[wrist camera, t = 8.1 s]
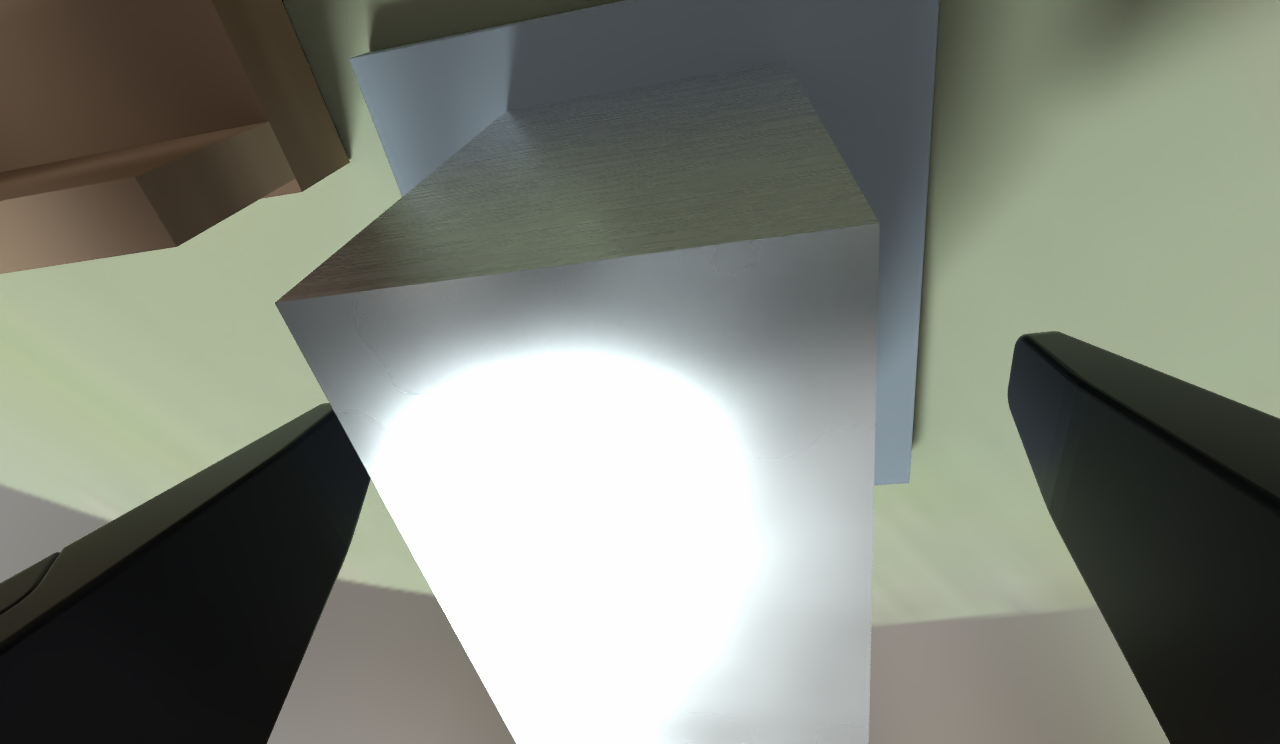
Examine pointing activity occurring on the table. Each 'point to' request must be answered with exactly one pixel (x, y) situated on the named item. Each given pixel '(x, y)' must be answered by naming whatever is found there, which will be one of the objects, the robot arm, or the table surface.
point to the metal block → (628, 409)
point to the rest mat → (692, 46)
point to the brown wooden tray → (148, 123)
